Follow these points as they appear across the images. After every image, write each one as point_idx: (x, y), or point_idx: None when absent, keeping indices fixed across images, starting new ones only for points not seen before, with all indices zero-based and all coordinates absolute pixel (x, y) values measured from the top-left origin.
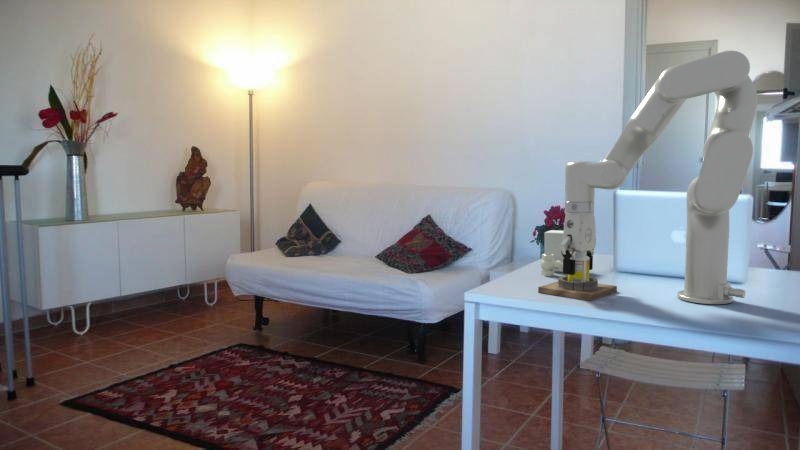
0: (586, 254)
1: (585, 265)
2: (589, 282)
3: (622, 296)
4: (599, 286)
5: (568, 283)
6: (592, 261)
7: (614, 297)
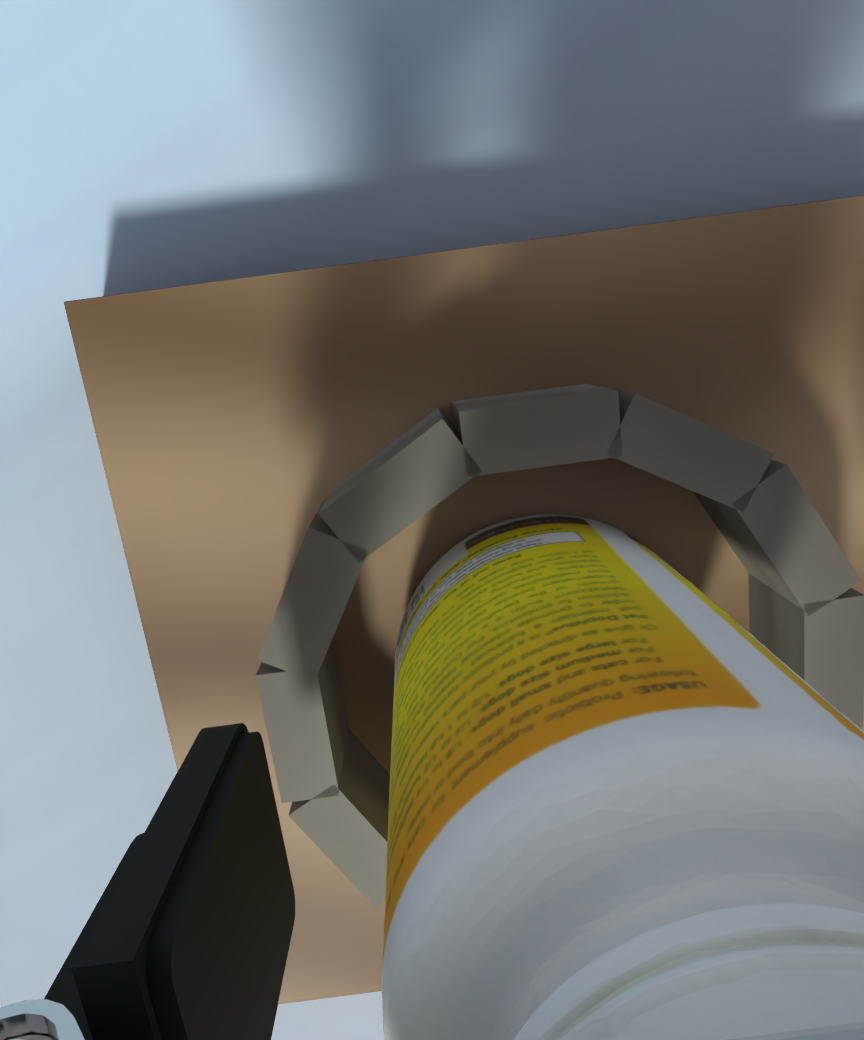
0: (662, 936)
1: (737, 649)
2: (679, 421)
3: (311, 57)
4: (305, 459)
5: (850, 652)
6: (156, 832)
7: (457, 101)
